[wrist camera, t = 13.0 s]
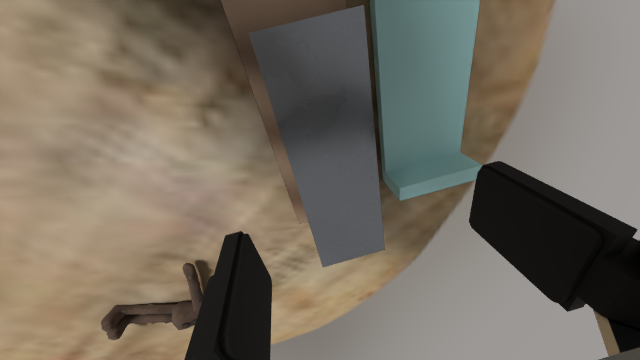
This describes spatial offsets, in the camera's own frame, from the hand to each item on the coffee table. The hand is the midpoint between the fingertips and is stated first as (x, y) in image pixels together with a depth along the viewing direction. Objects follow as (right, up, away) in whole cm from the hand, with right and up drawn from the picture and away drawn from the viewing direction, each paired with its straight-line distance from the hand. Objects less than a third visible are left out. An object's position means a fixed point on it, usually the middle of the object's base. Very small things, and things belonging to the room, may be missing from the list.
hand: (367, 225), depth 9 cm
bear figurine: (-20, -14, +21) cm, 32 cm away
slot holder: (+7, +11, +10) cm, 17 cm away
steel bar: (-2, +4, +6) cm, 8 cm away
